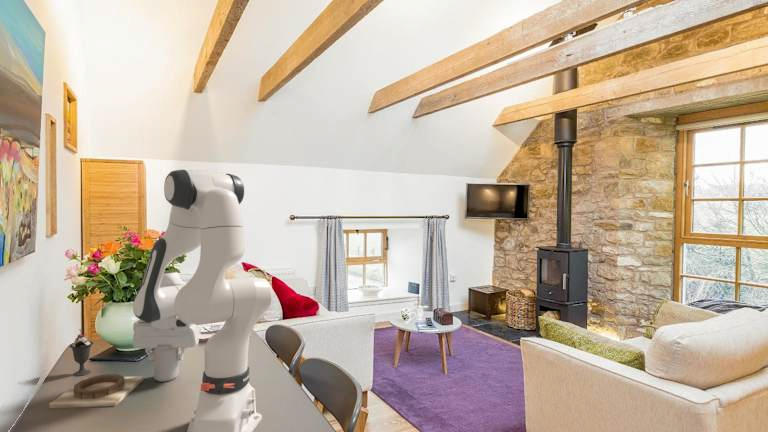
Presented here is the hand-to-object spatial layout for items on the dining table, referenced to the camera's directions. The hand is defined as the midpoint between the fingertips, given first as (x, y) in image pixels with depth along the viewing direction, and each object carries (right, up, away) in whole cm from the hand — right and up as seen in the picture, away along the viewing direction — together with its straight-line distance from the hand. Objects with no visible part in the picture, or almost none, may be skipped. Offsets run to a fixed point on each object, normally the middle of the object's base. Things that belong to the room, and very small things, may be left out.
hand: (166, 360), depth 146 cm
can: (0, -6, 0) cm, 6 cm away
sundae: (-31, -6, +3) cm, 31 cm away
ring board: (-15, -6, -11) cm, 20 cm away
